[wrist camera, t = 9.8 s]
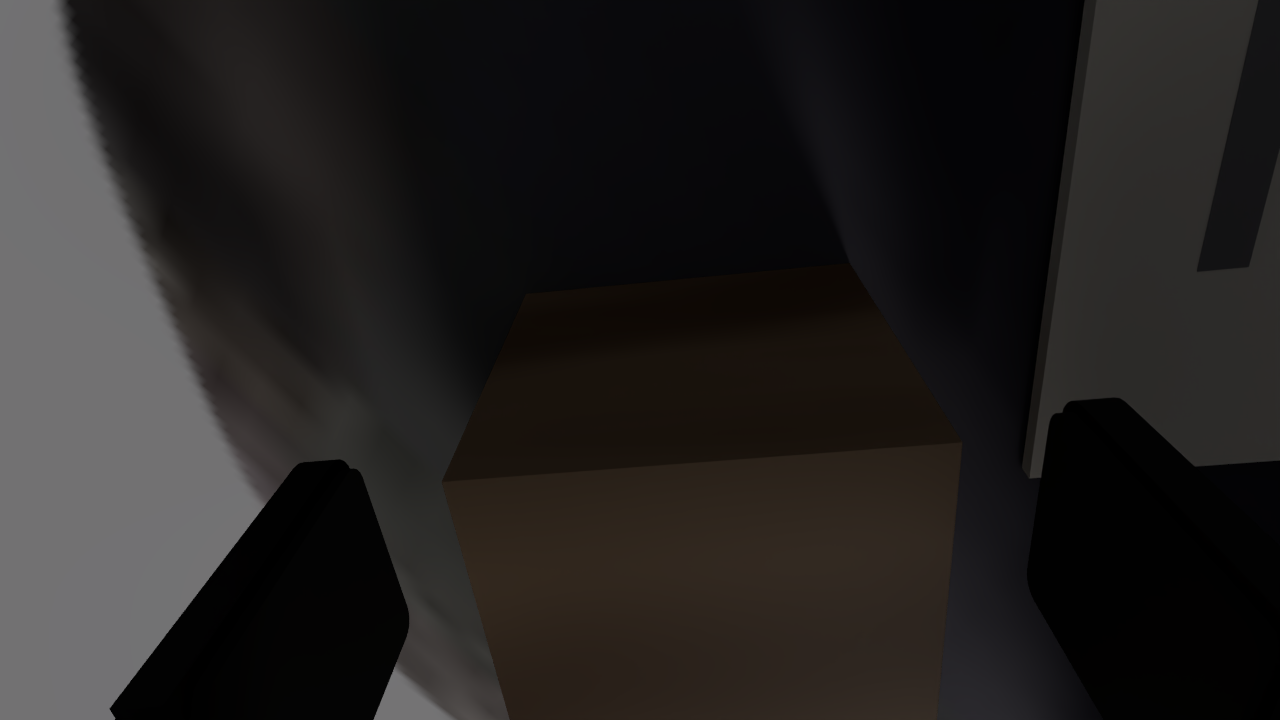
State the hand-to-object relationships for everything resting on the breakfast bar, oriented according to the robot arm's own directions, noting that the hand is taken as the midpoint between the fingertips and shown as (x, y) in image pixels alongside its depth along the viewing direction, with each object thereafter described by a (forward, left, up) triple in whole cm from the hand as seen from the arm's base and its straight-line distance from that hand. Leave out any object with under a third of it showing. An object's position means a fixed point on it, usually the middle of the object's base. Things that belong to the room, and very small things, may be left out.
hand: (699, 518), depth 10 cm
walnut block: (0, 0, -3) cm, 3 cm away
